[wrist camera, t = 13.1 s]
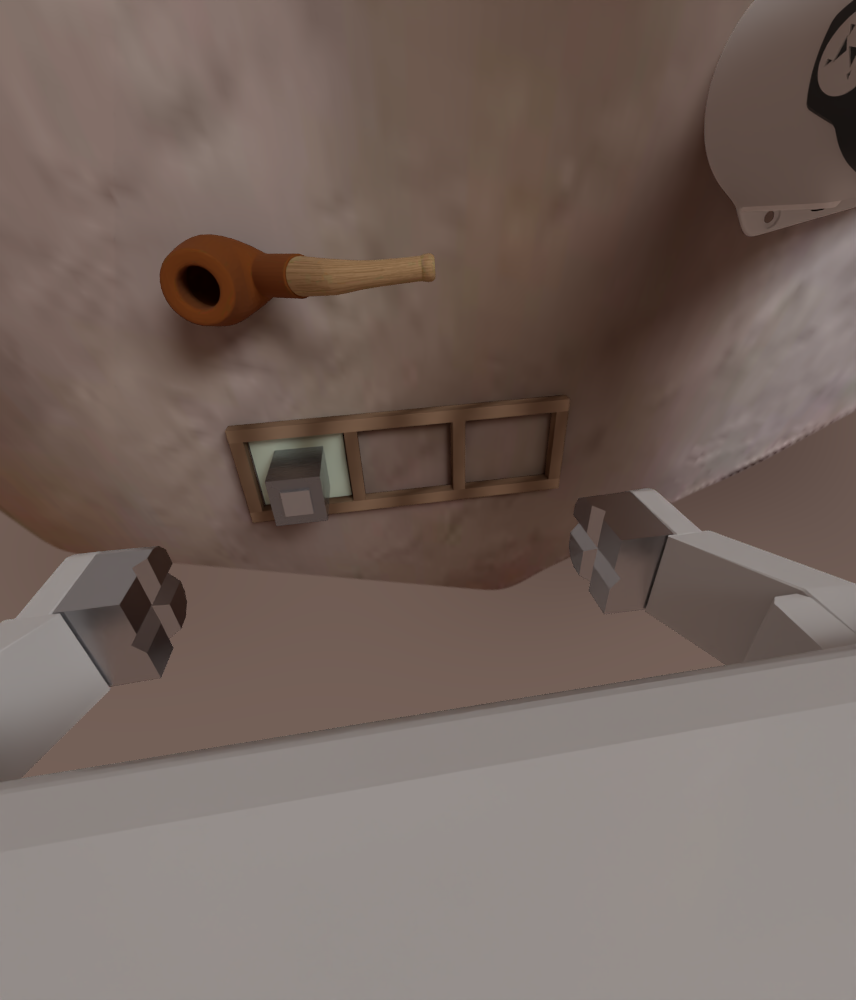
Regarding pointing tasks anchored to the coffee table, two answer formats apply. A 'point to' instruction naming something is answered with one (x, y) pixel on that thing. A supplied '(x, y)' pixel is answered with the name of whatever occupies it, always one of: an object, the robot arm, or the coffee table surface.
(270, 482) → the gray rectangular block
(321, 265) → the smoking pipe
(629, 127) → the coffee table surface
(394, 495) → the divided wooden frame
